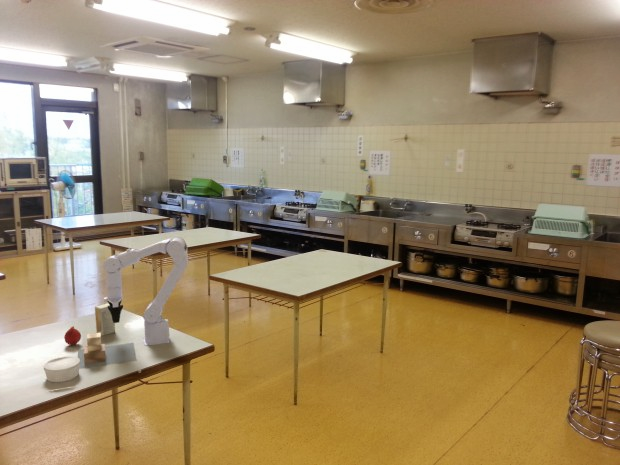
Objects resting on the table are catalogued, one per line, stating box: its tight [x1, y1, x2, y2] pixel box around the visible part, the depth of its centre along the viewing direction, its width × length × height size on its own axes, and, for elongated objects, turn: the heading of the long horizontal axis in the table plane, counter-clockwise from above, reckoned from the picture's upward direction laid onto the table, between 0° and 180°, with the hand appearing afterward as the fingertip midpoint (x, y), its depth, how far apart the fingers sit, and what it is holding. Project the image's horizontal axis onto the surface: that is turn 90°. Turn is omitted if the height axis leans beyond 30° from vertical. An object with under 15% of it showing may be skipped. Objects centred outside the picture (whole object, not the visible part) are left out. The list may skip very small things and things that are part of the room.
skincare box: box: [94, 302, 116, 336], centre depth 204 cm, size 6×4×12 cm
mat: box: [77, 342, 138, 370], centre depth 182 cm, size 20×18×1 cm
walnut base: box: [83, 343, 106, 364], centre depth 179 cm, size 7×7×4 cm
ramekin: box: [43, 356, 80, 383], centre depth 165 cm, size 11×11×5 cm
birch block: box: [86, 332, 102, 352], centre depth 178 cm, size 4×4×5 cm
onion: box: [64, 325, 82, 347], centre depth 191 cm, size 6×6×8 cm
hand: (115, 319), depth 193 cm, fingers open, 7 cm apart
